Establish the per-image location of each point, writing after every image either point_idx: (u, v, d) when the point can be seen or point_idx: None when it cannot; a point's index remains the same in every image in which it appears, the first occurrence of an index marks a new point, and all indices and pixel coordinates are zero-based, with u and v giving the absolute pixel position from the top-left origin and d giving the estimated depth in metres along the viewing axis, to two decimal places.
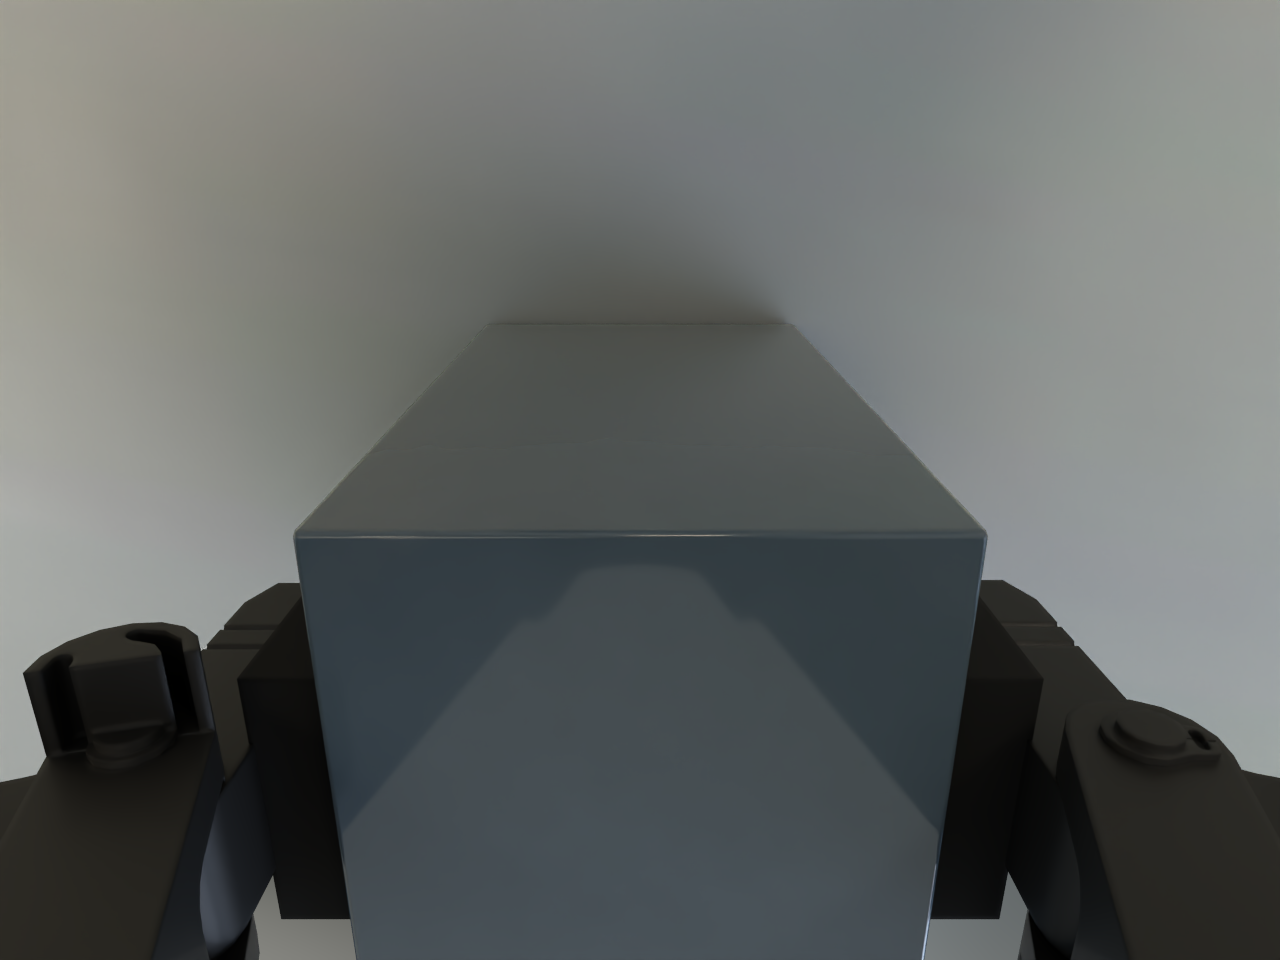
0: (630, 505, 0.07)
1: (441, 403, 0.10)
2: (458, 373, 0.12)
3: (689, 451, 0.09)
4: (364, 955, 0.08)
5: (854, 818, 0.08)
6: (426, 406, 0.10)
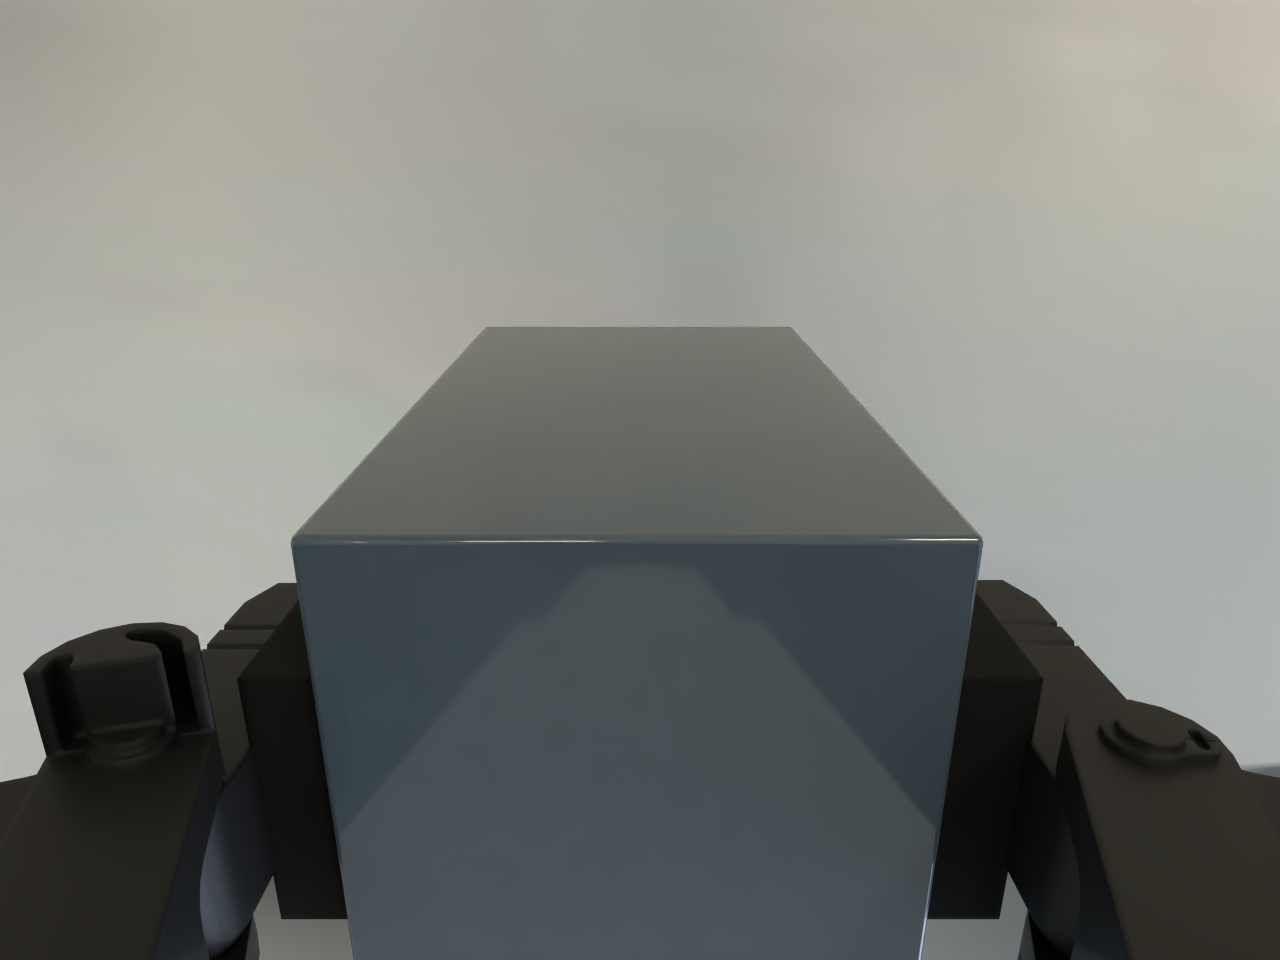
0: (628, 511, 0.07)
1: (439, 407, 0.10)
2: (456, 377, 0.12)
3: (686, 456, 0.09)
4: (362, 959, 0.08)
5: (850, 822, 0.08)
6: (424, 410, 0.10)
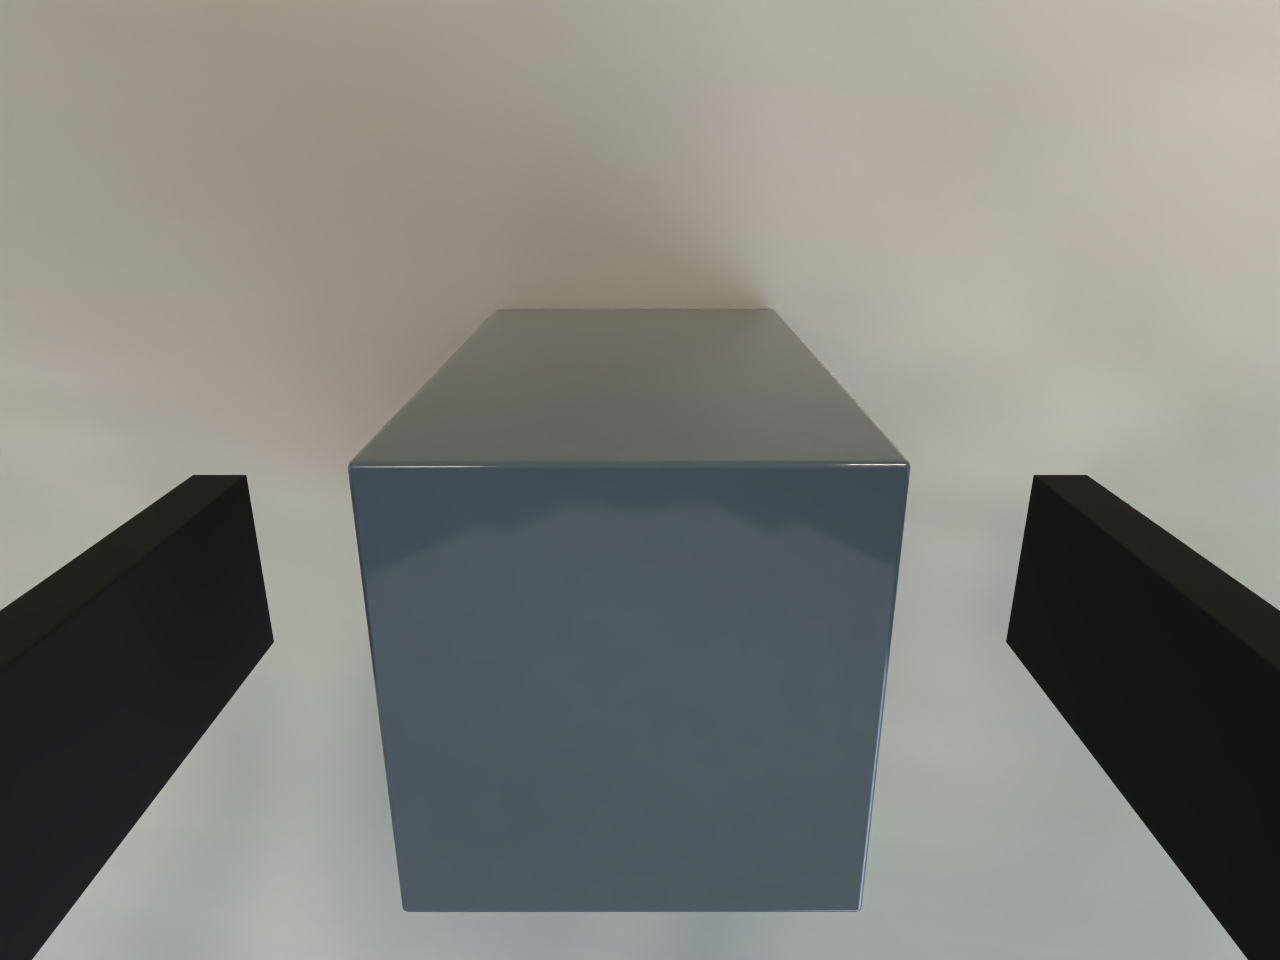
0: (621, 444, 0.09)
1: (461, 372, 0.12)
2: (473, 349, 0.13)
3: (672, 407, 0.10)
4: (400, 828, 0.10)
5: (807, 706, 0.09)
6: (447, 374, 0.12)
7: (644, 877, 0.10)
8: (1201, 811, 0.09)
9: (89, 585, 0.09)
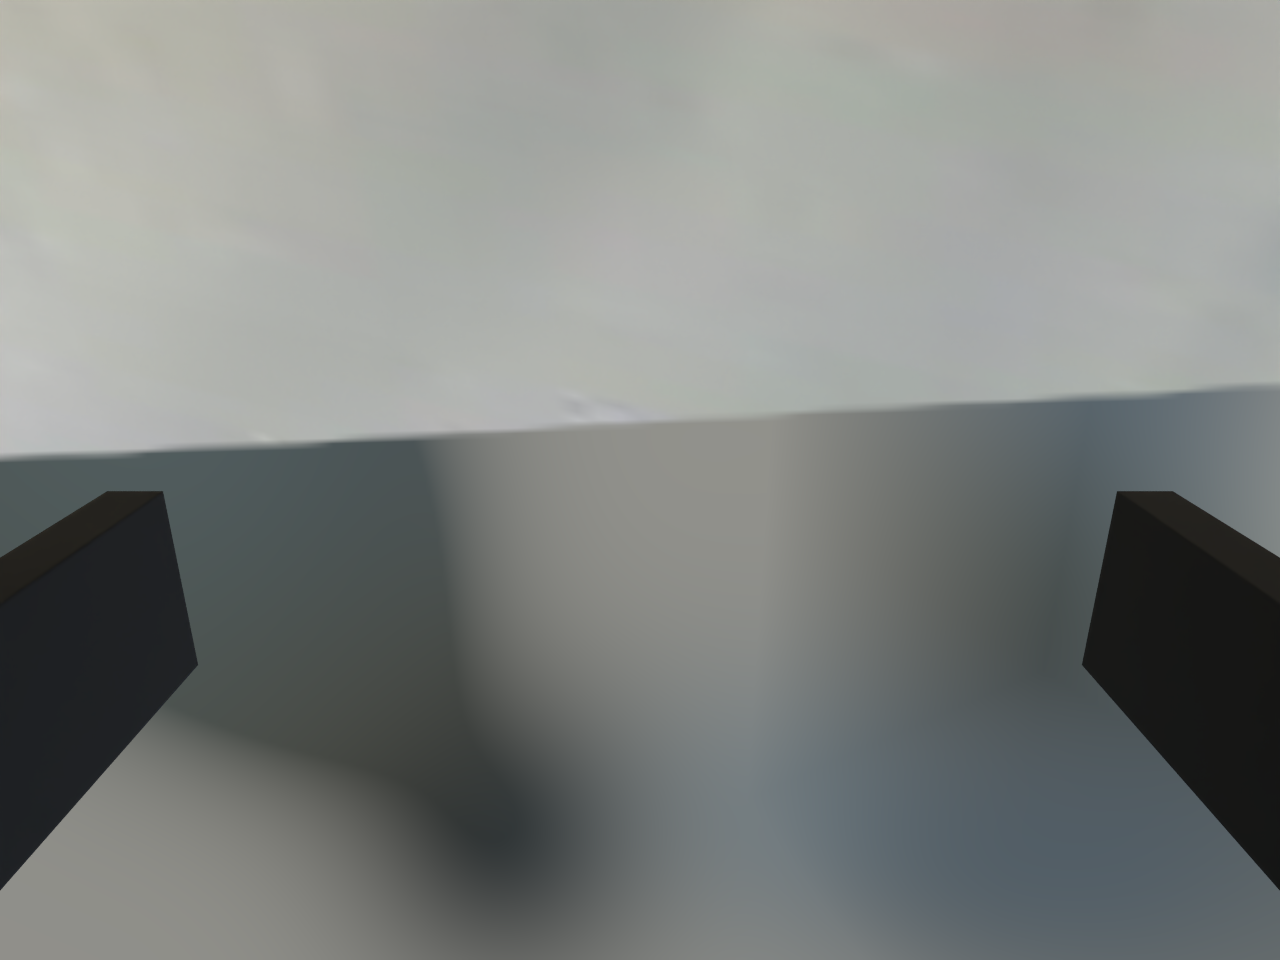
0: None
1: None
2: None
3: None
4: None
5: None
6: None
7: None
8: None
9: None
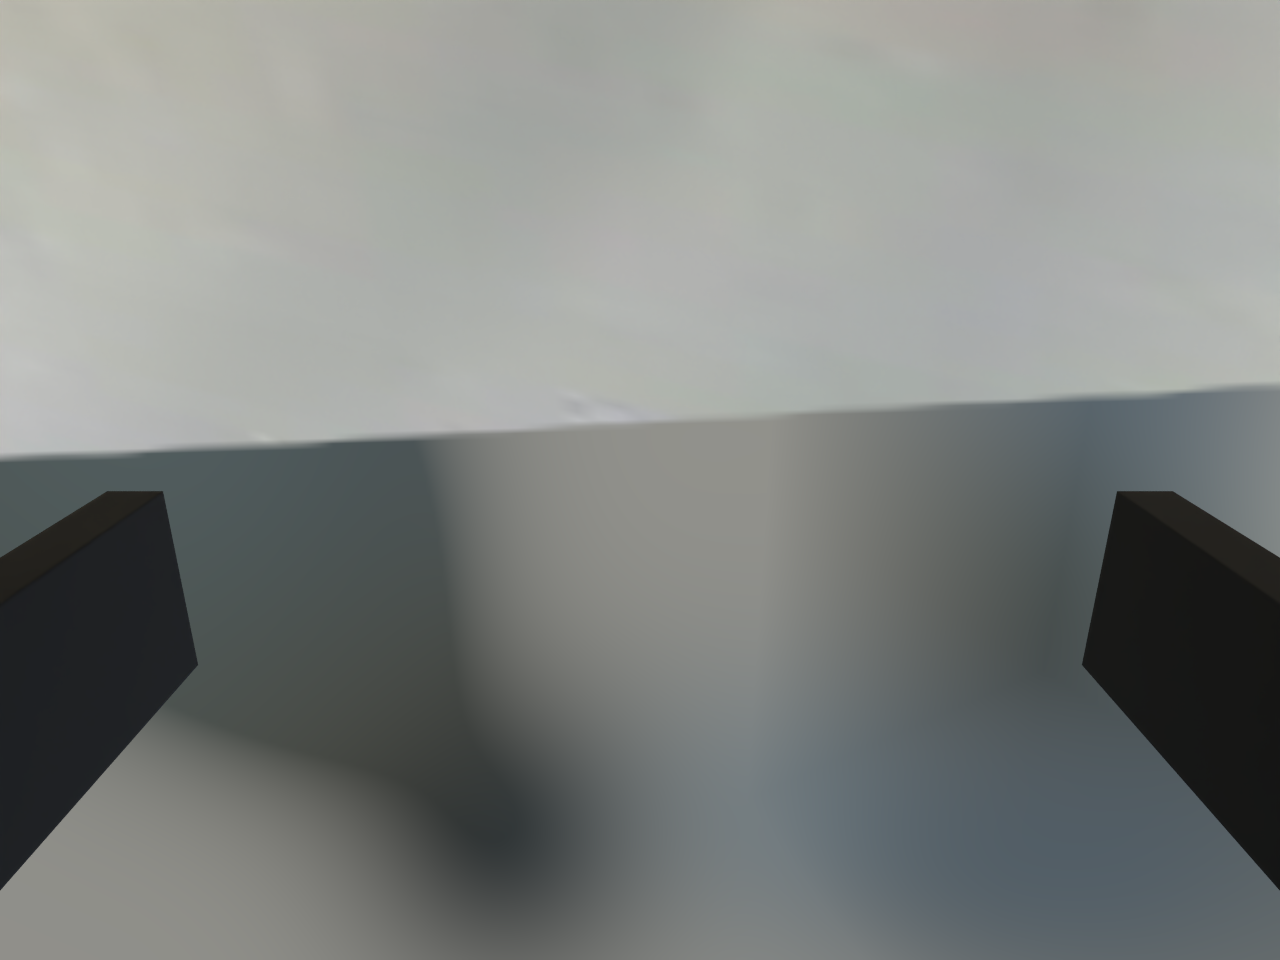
0: None
1: None
2: None
3: None
4: None
5: None
6: None
7: None
8: None
9: None
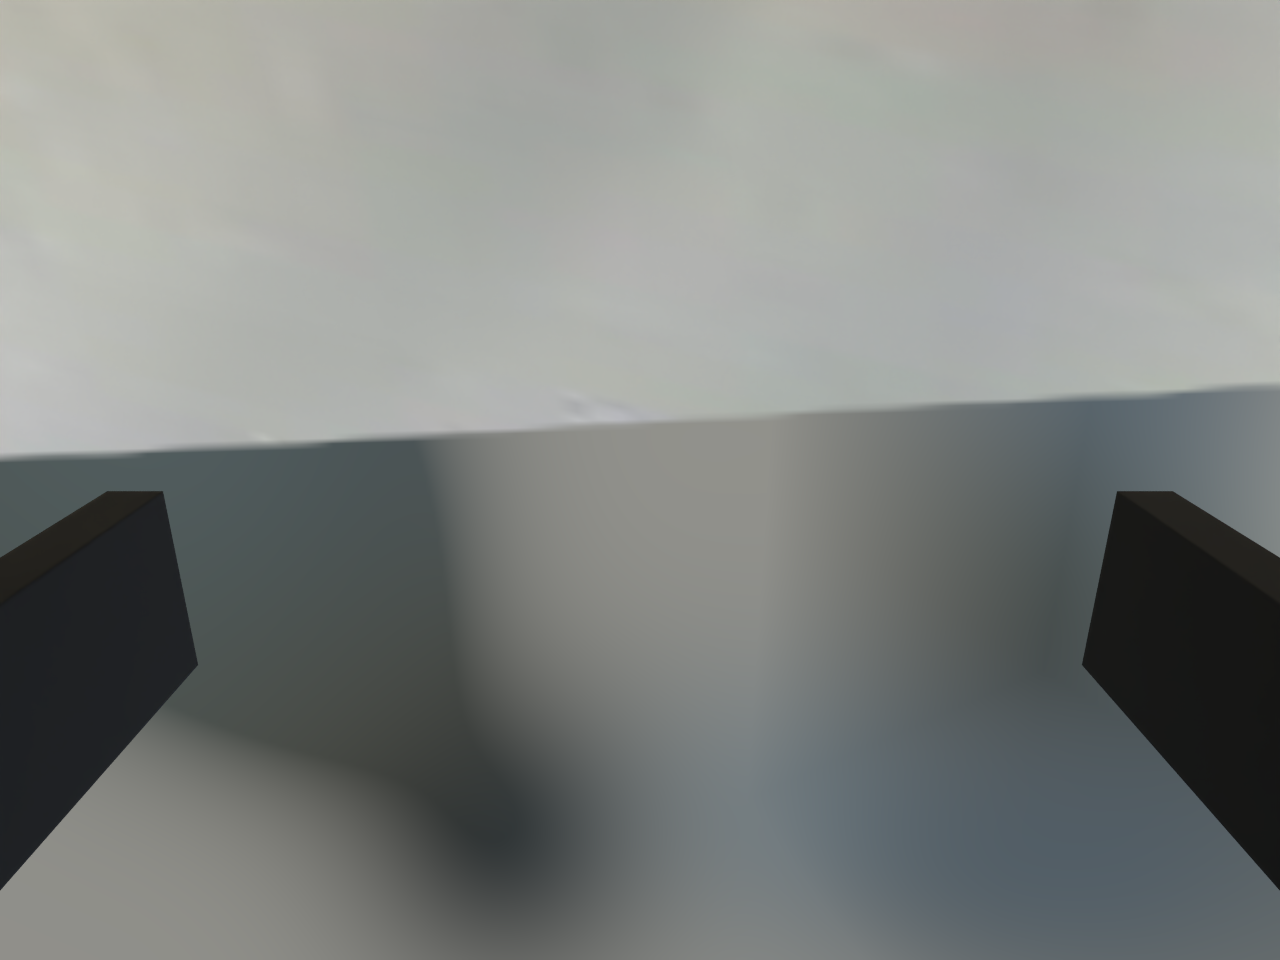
0: None
1: None
2: None
3: None
4: None
5: None
6: None
7: None
8: None
9: None
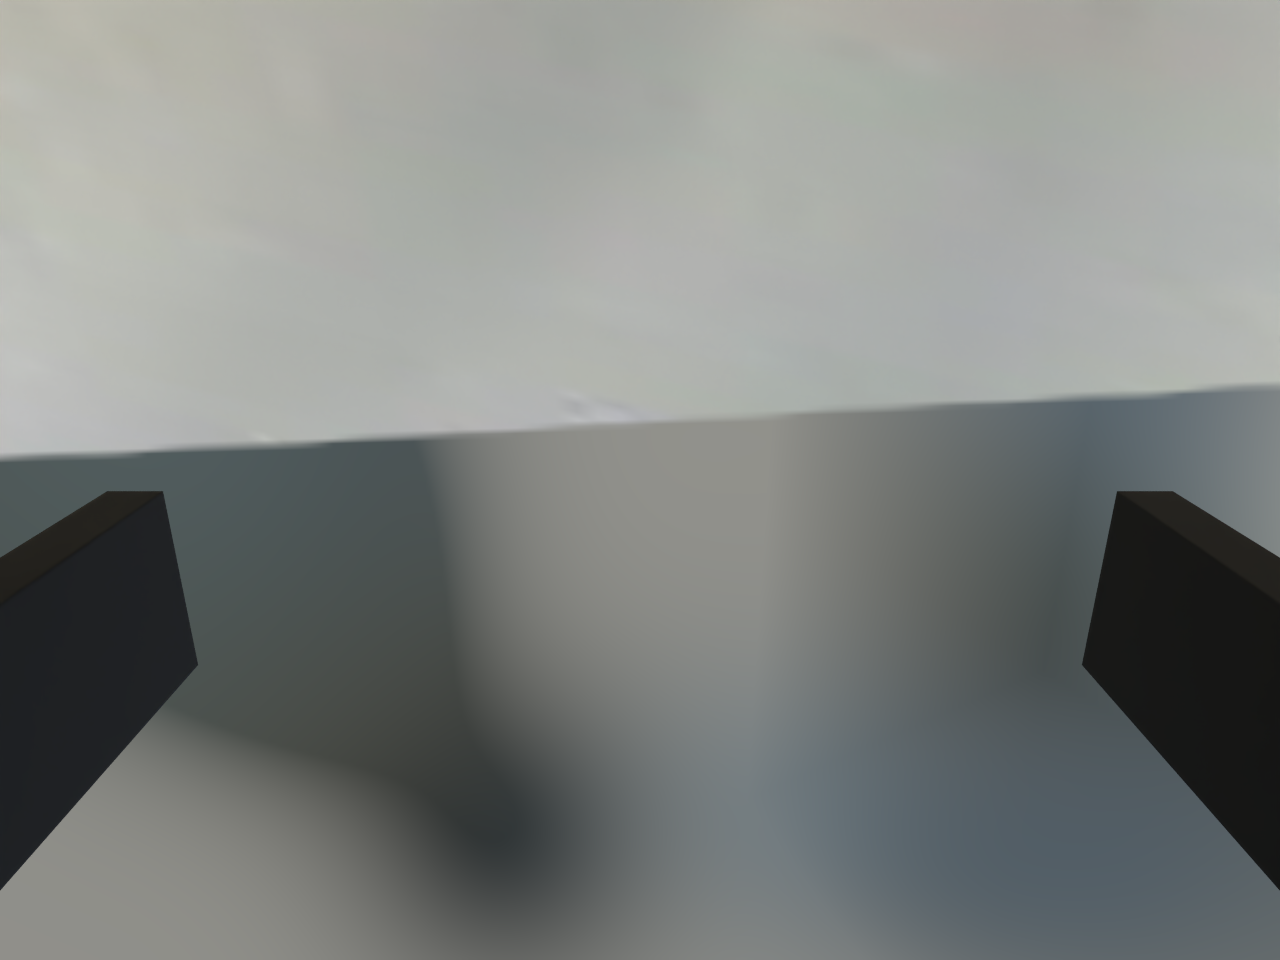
0: None
1: None
2: None
3: None
4: None
5: None
6: None
7: None
8: None
9: None
